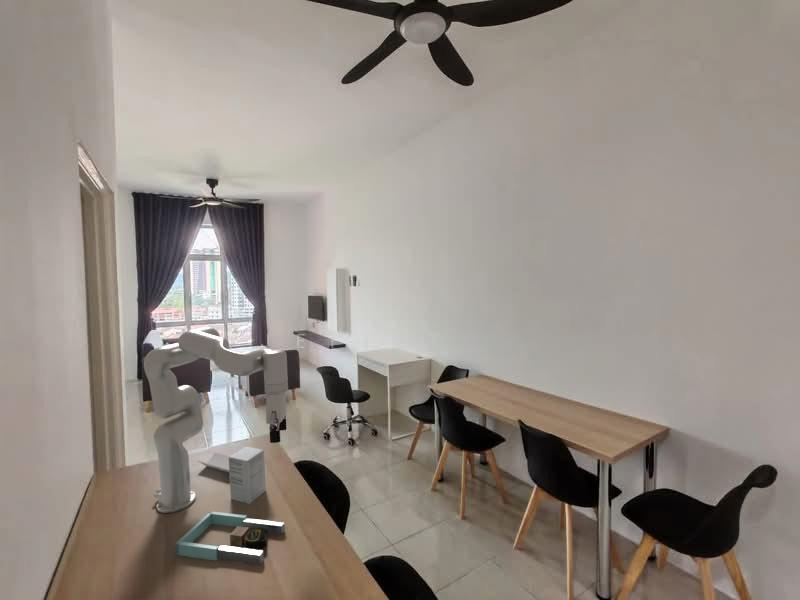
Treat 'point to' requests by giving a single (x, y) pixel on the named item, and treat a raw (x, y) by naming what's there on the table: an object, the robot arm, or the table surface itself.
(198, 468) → the table surface
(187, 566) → the table surface
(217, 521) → the u shaped frame
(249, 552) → the slot rails
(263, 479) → the supplement box
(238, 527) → the tan cardboard cube
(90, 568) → the table surface
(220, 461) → the z bracket
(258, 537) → the tape measure
